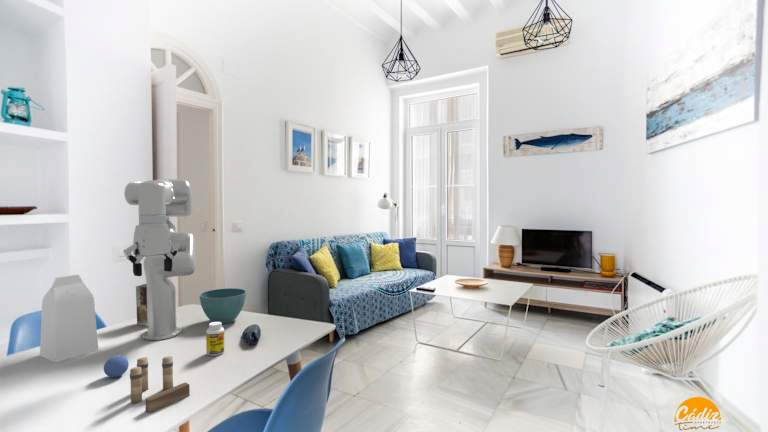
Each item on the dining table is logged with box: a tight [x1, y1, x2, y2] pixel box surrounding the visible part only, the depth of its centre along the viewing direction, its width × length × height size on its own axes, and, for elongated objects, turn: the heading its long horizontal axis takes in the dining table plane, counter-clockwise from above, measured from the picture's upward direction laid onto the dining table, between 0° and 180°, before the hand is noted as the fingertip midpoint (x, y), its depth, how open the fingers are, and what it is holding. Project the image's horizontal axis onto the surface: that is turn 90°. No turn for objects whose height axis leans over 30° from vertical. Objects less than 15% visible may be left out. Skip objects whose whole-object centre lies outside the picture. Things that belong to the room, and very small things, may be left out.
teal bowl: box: [199, 287, 247, 325], centre depth 164 cm, size 18×18×12 cm
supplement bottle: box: [205, 321, 225, 357], centre depth 130 cm, size 6×6×10 cm
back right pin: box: [129, 366, 143, 405], centre depth 98 cm, size 3×3×8 cm
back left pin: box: [161, 356, 174, 391], centre depth 105 cm, size 3×3×8 cm
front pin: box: [136, 356, 149, 393], centre depth 104 cm, size 3×3×8 cm
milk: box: [39, 274, 99, 363], centre depth 130 cm, size 12×12×26 cm
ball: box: [103, 355, 130, 378], centre depth 112 cm, size 6×6×6 cm
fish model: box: [241, 324, 261, 346], centre depth 145 cm, size 7×21×5 cm, turn 19°
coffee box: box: [135, 283, 148, 326], centre depth 161 cm, size 9×6×16 cm
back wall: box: [144, 382, 191, 414], centre depth 98 cm, size 2×10×3 cm, turn 148°
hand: (153, 273), depth 125 cm, fingers open, 9 cm apart
